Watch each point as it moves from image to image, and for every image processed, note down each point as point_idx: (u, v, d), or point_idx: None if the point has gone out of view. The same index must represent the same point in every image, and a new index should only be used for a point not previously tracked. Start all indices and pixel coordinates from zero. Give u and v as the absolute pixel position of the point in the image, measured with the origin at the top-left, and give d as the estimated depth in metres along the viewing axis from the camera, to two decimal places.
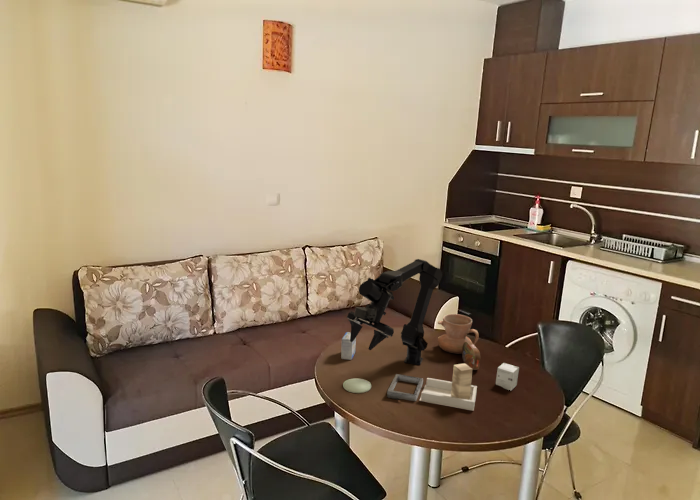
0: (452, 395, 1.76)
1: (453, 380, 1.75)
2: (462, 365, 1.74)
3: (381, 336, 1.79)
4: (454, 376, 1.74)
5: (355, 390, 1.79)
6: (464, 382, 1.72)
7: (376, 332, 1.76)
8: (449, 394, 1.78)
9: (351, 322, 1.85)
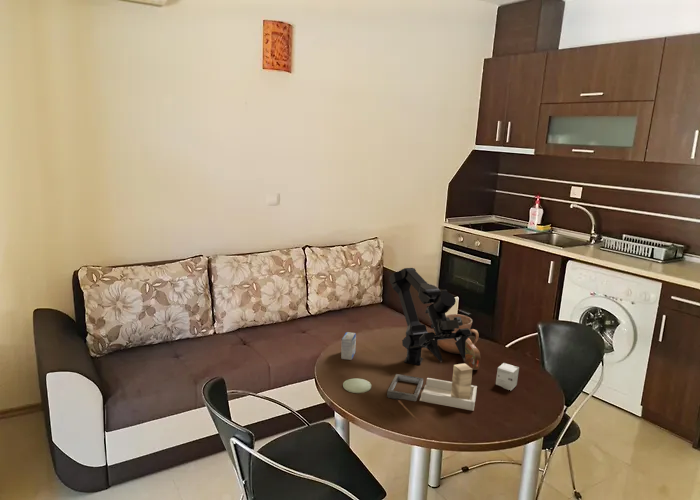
0: (452, 395, 1.76)
1: (453, 380, 1.75)
2: (462, 365, 1.74)
3: None
4: (454, 376, 1.74)
5: (355, 390, 1.79)
6: (464, 382, 1.72)
7: (465, 338, 1.82)
8: (449, 394, 1.78)
9: (434, 341, 1.77)
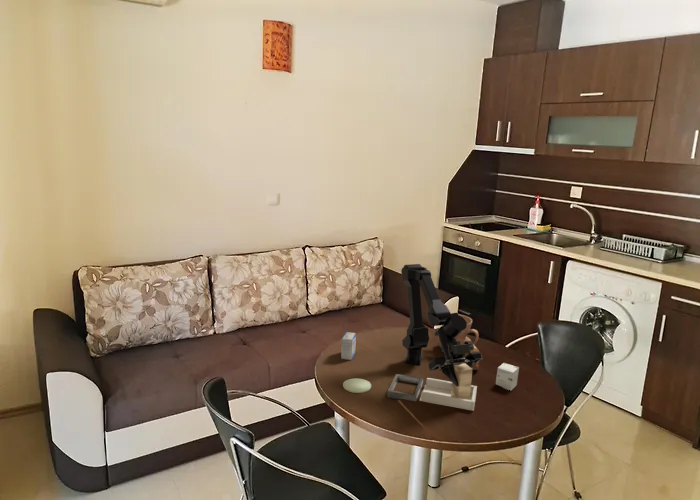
0: (452, 395, 1.76)
1: None
2: (462, 365, 1.74)
3: None
4: None
5: (355, 390, 1.79)
6: (464, 382, 1.72)
7: (471, 363, 1.75)
8: (449, 394, 1.78)
9: (451, 366, 1.72)
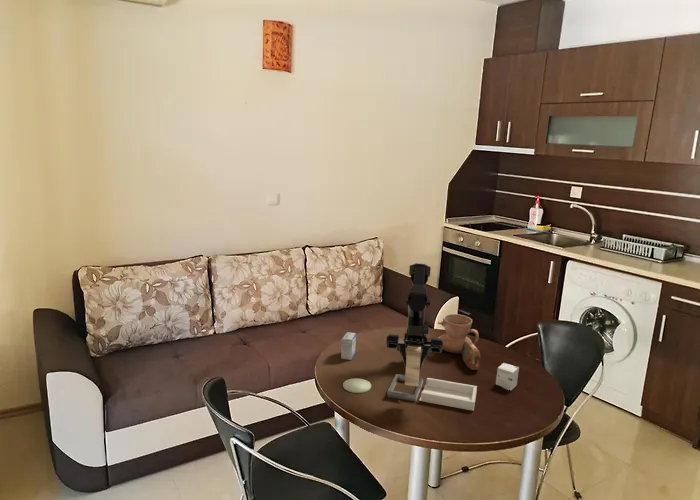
0: None
1: None
2: (415, 348, 1.70)
3: None
4: None
5: (355, 390, 1.79)
6: (411, 364, 1.68)
7: (426, 348, 1.69)
8: (449, 394, 1.78)
9: (402, 345, 1.71)
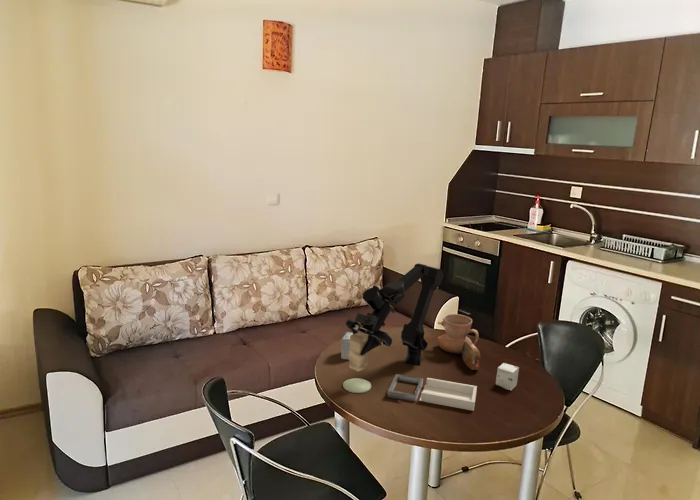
0: None
1: None
2: (362, 335, 1.79)
3: (374, 343, 1.79)
4: None
5: (355, 390, 1.79)
6: (353, 349, 1.79)
7: (370, 337, 1.77)
8: (449, 394, 1.78)
9: (354, 331, 1.82)
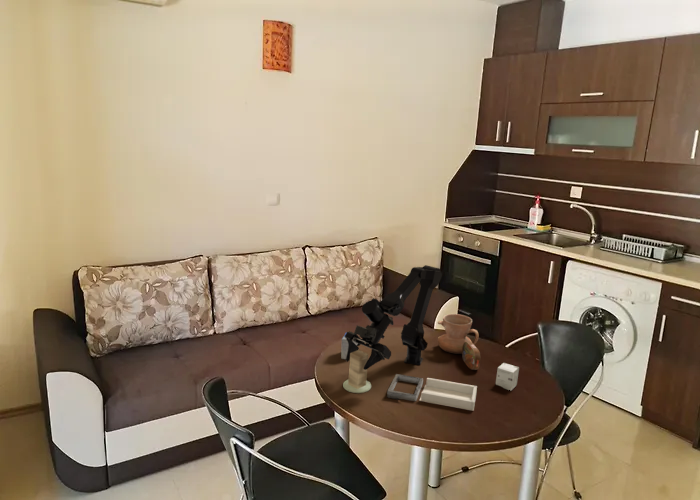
0: None
1: None
2: (362, 353, 1.81)
3: (377, 357, 1.79)
4: None
5: (355, 390, 1.79)
6: (353, 366, 1.80)
7: (374, 352, 1.77)
8: (449, 394, 1.78)
9: (349, 341, 1.85)
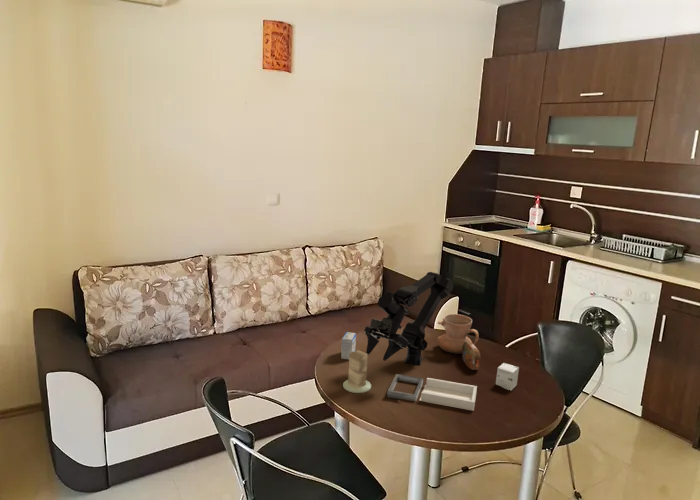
0: None
1: None
2: (361, 353, 1.81)
3: (396, 347, 1.84)
4: None
5: (355, 390, 1.79)
6: (352, 366, 1.80)
7: (390, 342, 1.82)
8: (449, 394, 1.78)
9: (368, 335, 1.92)
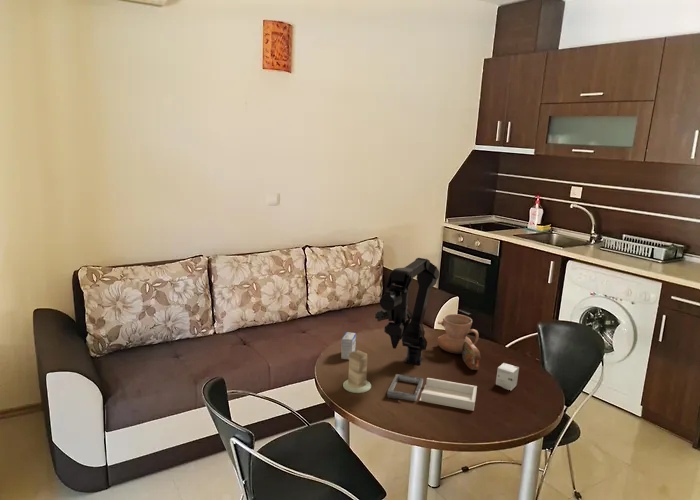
0: None
1: None
2: (361, 353, 1.81)
3: (397, 334, 1.82)
4: None
5: (355, 390, 1.79)
6: (352, 366, 1.80)
7: None
8: (449, 394, 1.78)
9: None
